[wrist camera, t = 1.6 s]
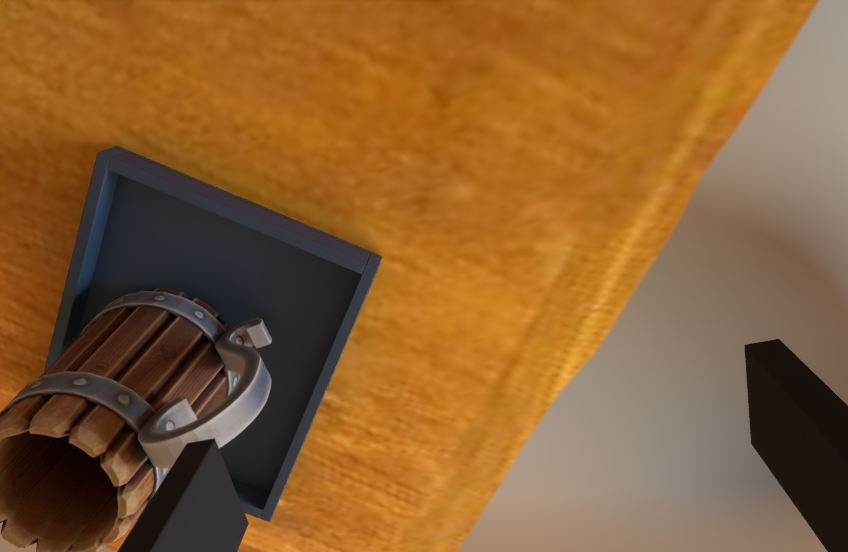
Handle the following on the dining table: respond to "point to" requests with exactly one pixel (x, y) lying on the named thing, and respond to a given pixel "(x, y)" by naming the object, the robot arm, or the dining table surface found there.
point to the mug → (123, 417)
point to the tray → (223, 293)
